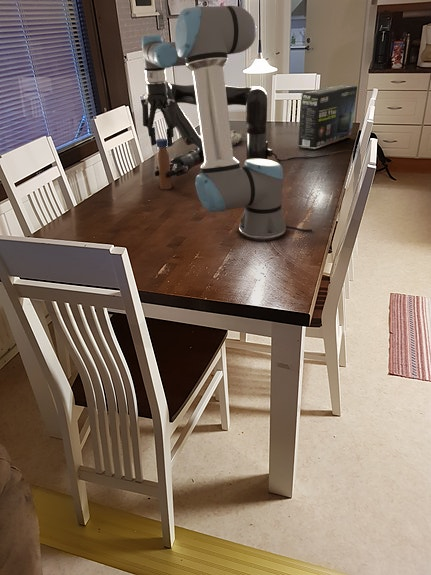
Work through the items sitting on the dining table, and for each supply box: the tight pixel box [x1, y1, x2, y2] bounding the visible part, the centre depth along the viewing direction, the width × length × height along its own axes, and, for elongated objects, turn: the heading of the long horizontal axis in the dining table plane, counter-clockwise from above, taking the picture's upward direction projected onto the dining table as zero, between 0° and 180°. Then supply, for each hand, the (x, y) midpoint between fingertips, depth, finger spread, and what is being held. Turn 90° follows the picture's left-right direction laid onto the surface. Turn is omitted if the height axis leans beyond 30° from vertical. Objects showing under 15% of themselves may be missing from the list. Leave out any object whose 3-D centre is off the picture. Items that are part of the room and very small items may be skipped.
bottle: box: [156, 146, 173, 190], centre depth 187 cm, size 5×5×19 cm
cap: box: [155, 138, 168, 148], centre depth 182 cm, size 4×4×2 cm
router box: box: [297, 84, 358, 151], centre depth 238 cm, size 36×11×27 cm, turn 134°
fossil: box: [230, 128, 246, 147], centre depth 252 cm, size 18×11×15 cm
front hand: (162, 145), depth 183 cm, fingers open, 7 cm apart
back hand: (161, 174), depth 186 cm, fingers closed on bottle, 4 cm apart
